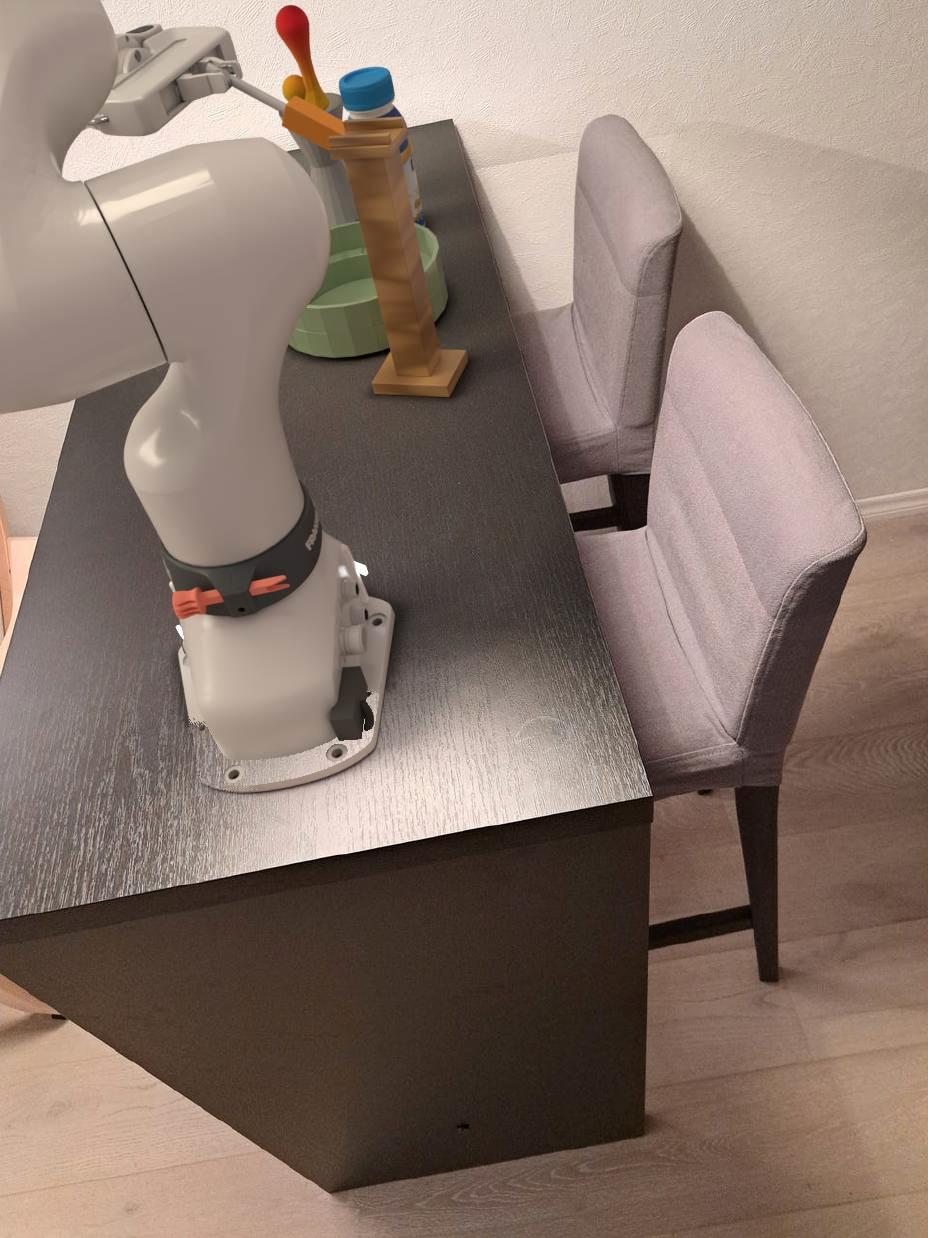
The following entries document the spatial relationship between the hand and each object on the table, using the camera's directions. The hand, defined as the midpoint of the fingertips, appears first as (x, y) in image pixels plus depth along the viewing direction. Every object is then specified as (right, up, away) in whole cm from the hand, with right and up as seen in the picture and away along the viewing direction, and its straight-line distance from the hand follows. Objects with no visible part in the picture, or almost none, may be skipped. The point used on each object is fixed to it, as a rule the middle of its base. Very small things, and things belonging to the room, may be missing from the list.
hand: (233, 76), depth 97 cm
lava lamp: (+5, +4, +42) cm, 43 cm away
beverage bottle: (+14, -2, +35) cm, 38 cm away
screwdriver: (+4, -3, +2) cm, 5 cm away
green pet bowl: (+11, -18, +21) cm, 30 cm away
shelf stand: (+19, -29, +9) cm, 35 cm away
